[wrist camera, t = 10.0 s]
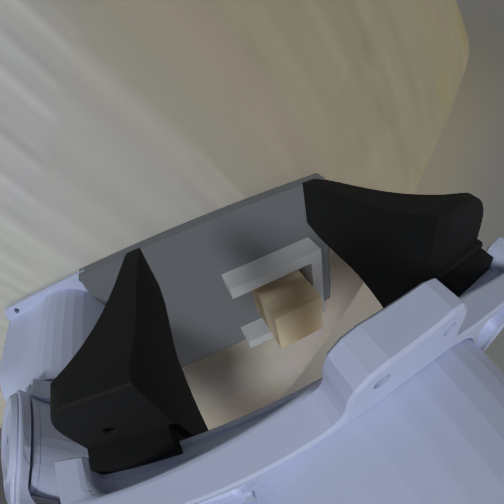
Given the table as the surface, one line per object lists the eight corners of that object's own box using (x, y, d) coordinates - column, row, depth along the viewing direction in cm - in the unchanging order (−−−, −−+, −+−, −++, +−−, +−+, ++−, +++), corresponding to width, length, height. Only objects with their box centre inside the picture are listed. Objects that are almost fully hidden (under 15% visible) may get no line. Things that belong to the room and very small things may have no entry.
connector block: (257, 309, 28) (281, 348, 24) (248, 279, 26) (275, 319, 22) (295, 292, 29) (322, 327, 25) (290, 261, 26) (321, 296, 23)
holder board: (153, 369, 29) (159, 392, 26) (79, 269, 20) (76, 294, 18) (324, 291, 33) (340, 309, 30) (316, 173, 24) (338, 186, 22)
